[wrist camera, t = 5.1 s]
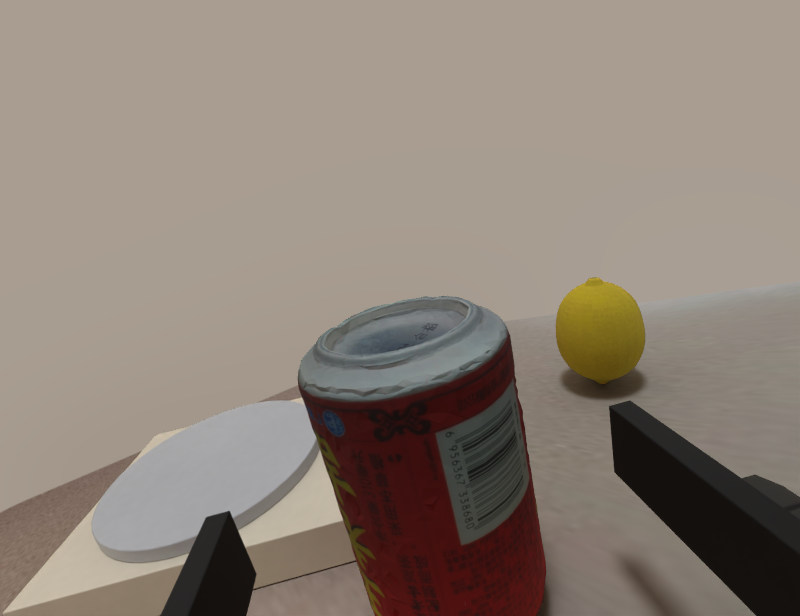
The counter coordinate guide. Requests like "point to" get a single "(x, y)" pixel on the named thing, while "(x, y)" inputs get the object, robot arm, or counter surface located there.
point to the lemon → (600, 331)
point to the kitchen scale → (198, 515)
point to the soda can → (429, 458)
